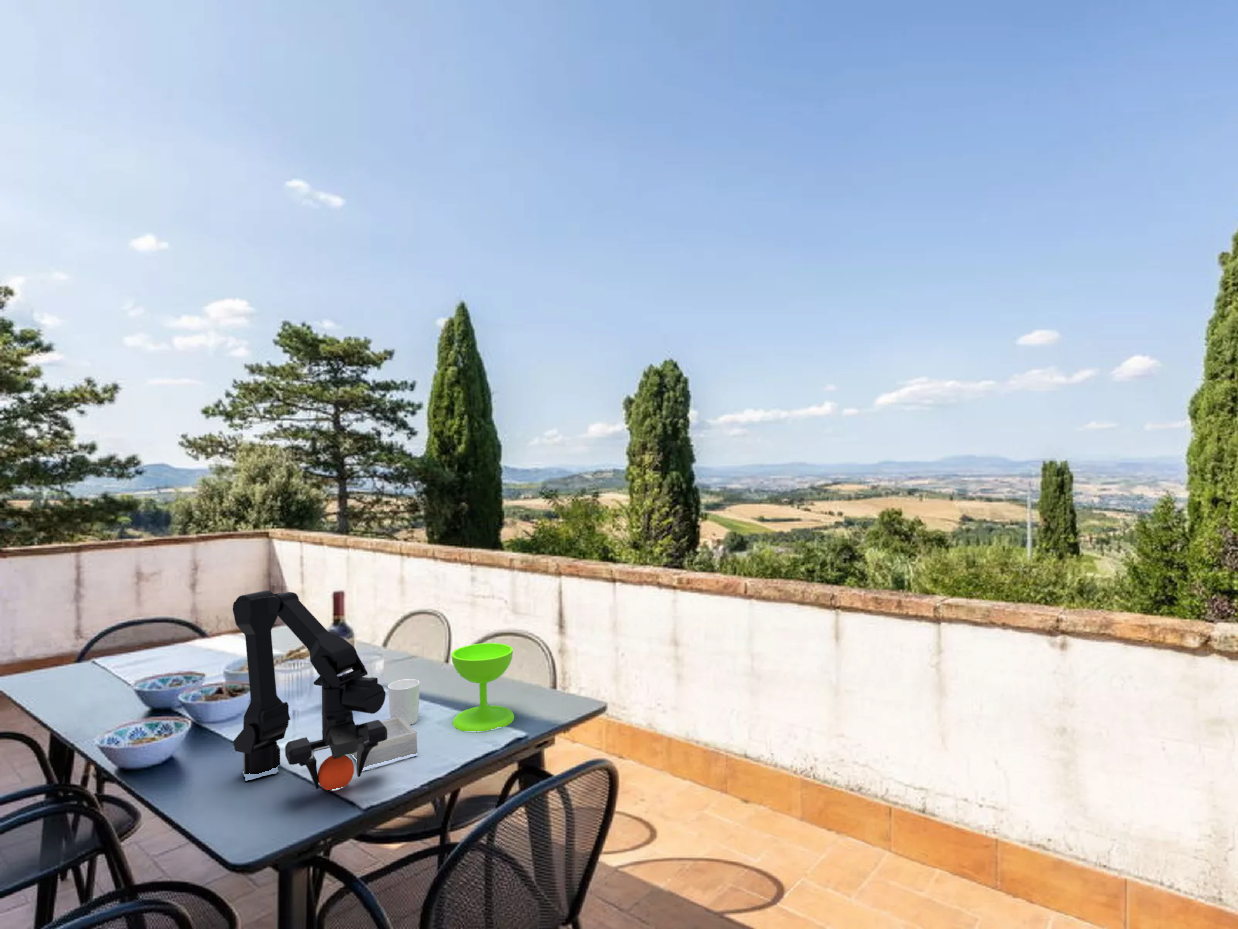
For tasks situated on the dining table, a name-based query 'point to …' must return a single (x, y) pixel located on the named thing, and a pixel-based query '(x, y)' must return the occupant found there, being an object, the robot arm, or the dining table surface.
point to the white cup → (404, 699)
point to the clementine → (335, 772)
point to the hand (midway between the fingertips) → (338, 782)
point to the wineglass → (482, 684)
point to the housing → (393, 742)
